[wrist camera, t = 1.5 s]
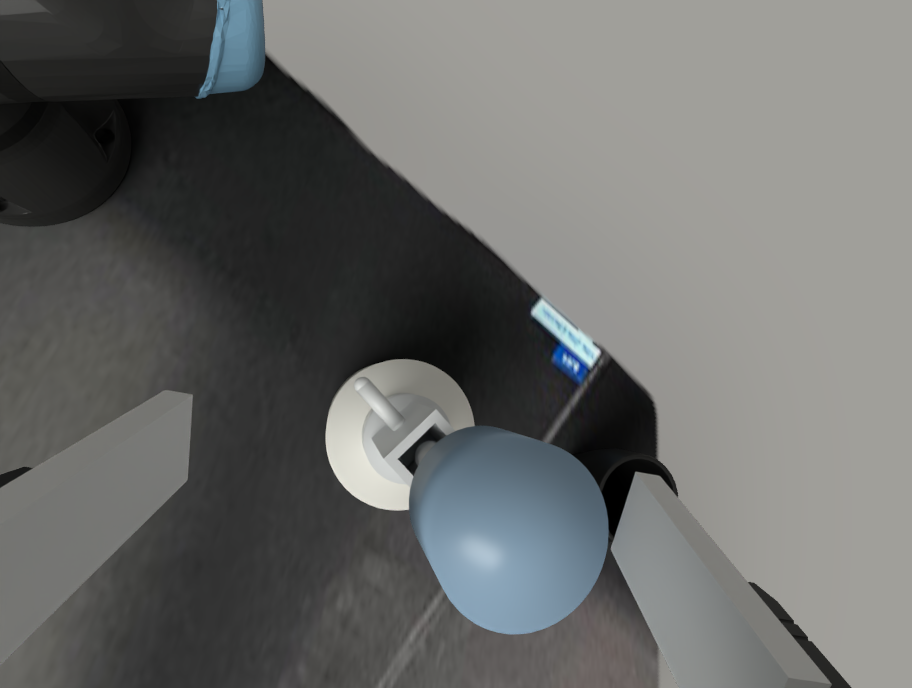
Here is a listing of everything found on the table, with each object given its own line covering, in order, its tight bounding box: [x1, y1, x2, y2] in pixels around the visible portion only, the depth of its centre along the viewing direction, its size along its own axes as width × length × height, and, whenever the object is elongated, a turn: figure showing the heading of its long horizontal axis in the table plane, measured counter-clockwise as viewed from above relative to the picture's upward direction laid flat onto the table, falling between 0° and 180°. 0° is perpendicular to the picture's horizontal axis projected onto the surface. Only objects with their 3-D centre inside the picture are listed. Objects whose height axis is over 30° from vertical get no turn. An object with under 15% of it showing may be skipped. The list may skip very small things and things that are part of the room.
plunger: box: [409, 426, 609, 634], centre depth 19 cm, size 5×5×13 cm
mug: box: [573, 448, 678, 548], centre depth 45 cm, size 8×12×10 cm
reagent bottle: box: [326, 359, 474, 510], centre depth 35 cm, size 11×11×22 cm
